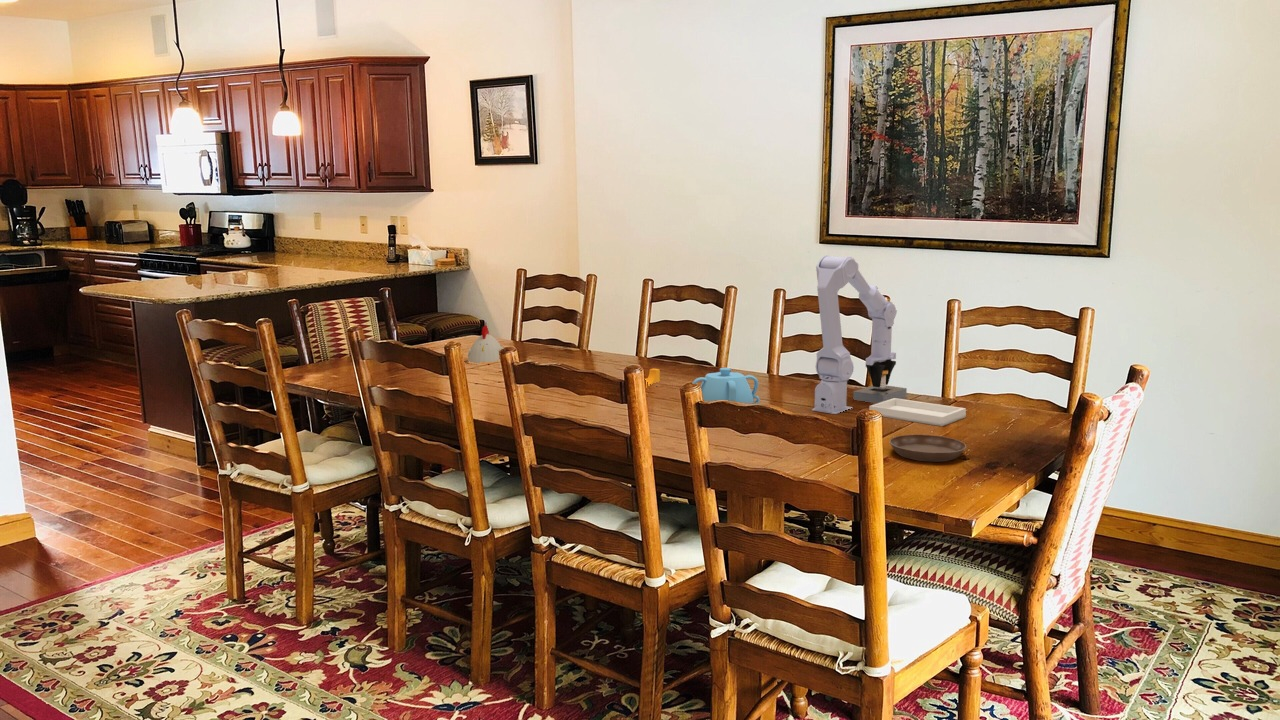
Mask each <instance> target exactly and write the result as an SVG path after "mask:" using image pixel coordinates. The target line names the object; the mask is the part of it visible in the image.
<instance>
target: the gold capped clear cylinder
mask: <svg viewBox="0 0 1280 720" xmlns="http://www.w3.org/2000/svg"><path fill="white" fill-rule="evenodd" d="M886 374H888V370H887V369H884V370H883V372H882V377H881V384H880V387H875V391H879V392H885V391H886Z"/></svg>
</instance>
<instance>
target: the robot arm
mask: <svg viewBox="0 0 1280 720" xmlns="http://www.w3.org/2000/svg"><path fill="white" fill-rule="evenodd" d="M815 268H816V269H815V271H816V279H817V286H816V288H817V297H818V299H817V300H818V306H819V307H818V308H819V318H820V326H821V337H822V338H821V339H822V346H823V347H822V348H821V349H819V350H818V351H817V352H816V361H815V371H816V374H817V375H818V376H819V377H818V378H819V379H820V382H819V383H818V384H817V385H816V386H815V388H814V407H813V408H811V411H812V412H813V411H814V412H820V413H824V414H825V413H826V414H832V415H837V414H840V412H841V413H843V411H844V412H846V411H845V410H847V411H849V410H848V409H850V410H852V409H853V407H852V406H847V401H848V400H847V397H848V396H847V395H848V394H847V393H848V392H847V391H848V389H847V388H848V381H849V380H850V378H851V377H852V375H853V374H854V373H853V372H854V369H855V367H854V362H853V360H852V358H851V352H850V351H849V350H848V349H847V348H846V347H845V346H844V343H843V336H842V325H841V315H840V305H839V294H838V293H839V290H841V289H842V288H843V289H844V287H845V286H846V285H847V284H848V283H849V284H850V285H851V286H852V287H853V288H854V289H855V290H856V291H857V293H858V299H859V300H860V301H861V302H862V304H863V305H864V306H865V307H866V310H867V315H868V318H870V319H871V351H870V352H871V354H870V355H869V356H868V357H866V358H865V368H866V369H867V371H868V373H869V377H870V380H871V384H872V385H871V386H873V387H880V384H881V377H882V372H883V370H884V369H887V370H888V374H886V385H887V386H889V385H888V384H889V382H890V377H891V374H892V371H893V370H894V368H895V366H896V365H897V361H895V360H896V359H897V352H893V351H892V332H893V328H892V327H893V326H894V324H895V323H894V322H895V319H896V316H897V312H898V310H897V308H896V306H895V304H894V303H893V302H892V301H888V300H887V298H886V297H885V296H884V295H883V294H882V293H881V292H880V290H879V287H878V286H876V285H874V284H868V281H866V279H865V277H864V276H863V275H862V272H861V271H860V270H859V263H858V262H857V261H856V259H855V258H854V257H852V256H832V255H831V256H830V255H824V256H822V257H821V258H820V259H819V261H818V263H817V264H816V266H815ZM851 408H852V409H851Z"/></svg>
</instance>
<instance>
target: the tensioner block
mask: <svg viewBox="0 0 1280 720" xmlns="http://www.w3.org/2000/svg"><path fill="white" fill-rule="evenodd" d="M852 392H853V394H852V395H853V396H852V400H853V399H854V400H859V401H865V402H871V403H870V404H872V403H876V404H877V403H880V402H883V401H886V400H890V399H893V398H897V399H904V400H905V399H907V392H908V391H907V387H901V386H894V385H886V391H885V392H879V391H875V387H873V386H872V385H869V386H865V387H864V388H859V389H856V390H853V391H852ZM859 401H858V402H859ZM865 402H864V403H865Z"/></svg>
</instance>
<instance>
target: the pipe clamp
mask: <svg viewBox="0 0 1280 720" xmlns="http://www.w3.org/2000/svg"><path fill="white" fill-rule="evenodd" d="M660 370H661V369H660V368H650V369H649V372H648V373H649V374H648V377H647V378H644V379H645V380H646V388H647V382H648V386H650V384H651V385H652V384H653V383H656V382H659V381H660V382H661V374H660V373H661V371H660Z"/></svg>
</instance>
